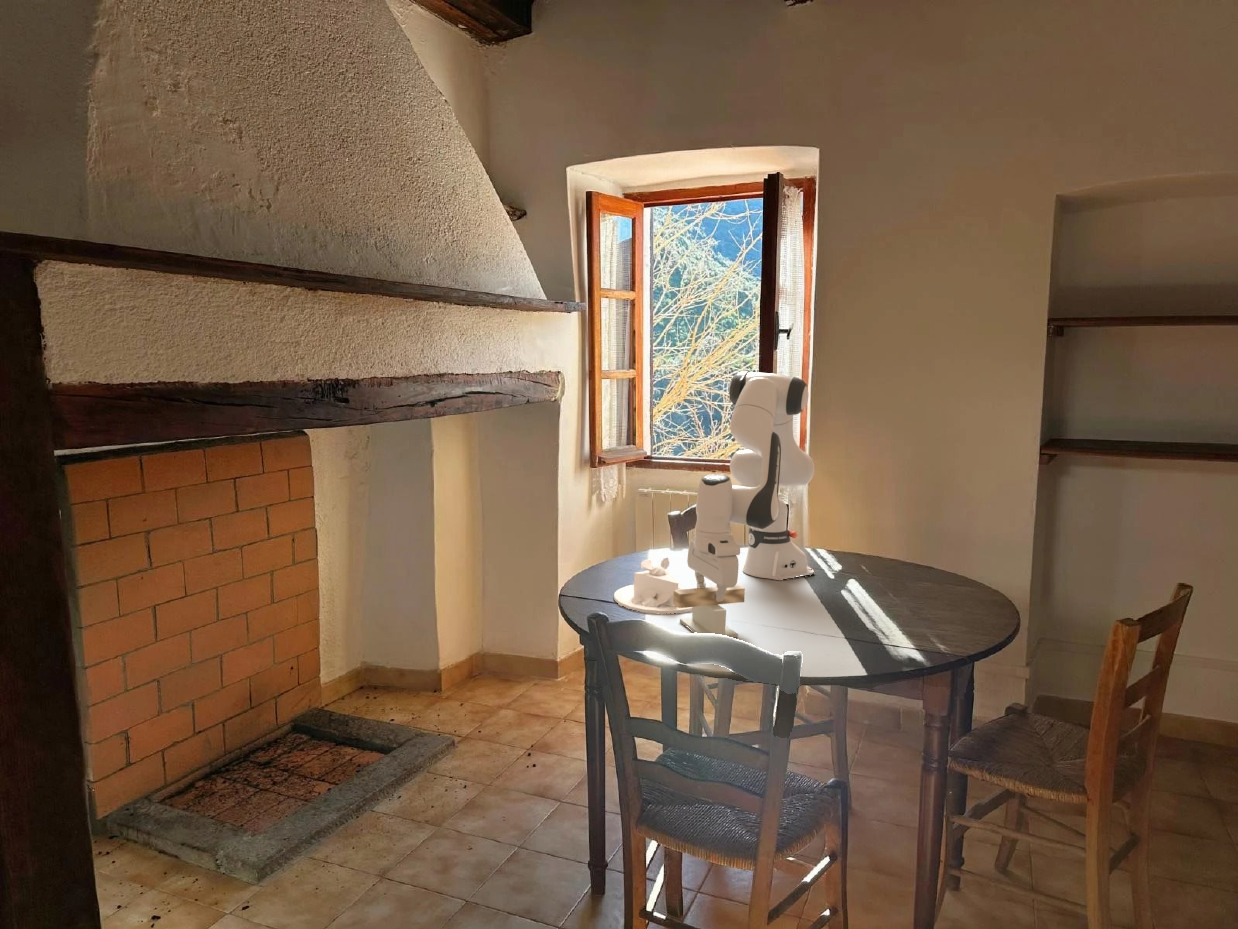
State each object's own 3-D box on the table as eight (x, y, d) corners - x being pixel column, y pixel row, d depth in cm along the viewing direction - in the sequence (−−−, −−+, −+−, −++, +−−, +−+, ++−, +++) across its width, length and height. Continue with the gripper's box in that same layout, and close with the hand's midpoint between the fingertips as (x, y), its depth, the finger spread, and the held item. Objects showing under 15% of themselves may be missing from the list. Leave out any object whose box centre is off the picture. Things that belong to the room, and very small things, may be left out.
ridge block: (711, 619, 214) (712, 593, 213) (737, 637, 202) (739, 610, 201) (679, 622, 211) (680, 596, 210) (704, 641, 198) (706, 613, 197)
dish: (597, 594, 234) (598, 555, 232) (671, 583, 246) (672, 546, 245) (643, 620, 213) (645, 578, 211) (721, 607, 225) (723, 567, 224)
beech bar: (737, 597, 210) (738, 584, 210) (744, 602, 207) (744, 588, 207) (673, 603, 204) (673, 590, 203) (679, 608, 201) (679, 594, 200)
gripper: (682, 531, 211) (680, 584, 214) (720, 551, 193) (717, 608, 195) (704, 530, 214) (702, 582, 216) (744, 550, 195) (741, 606, 197)
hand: (709, 595), depth 205 cm, fingers open, 8 cm apart
